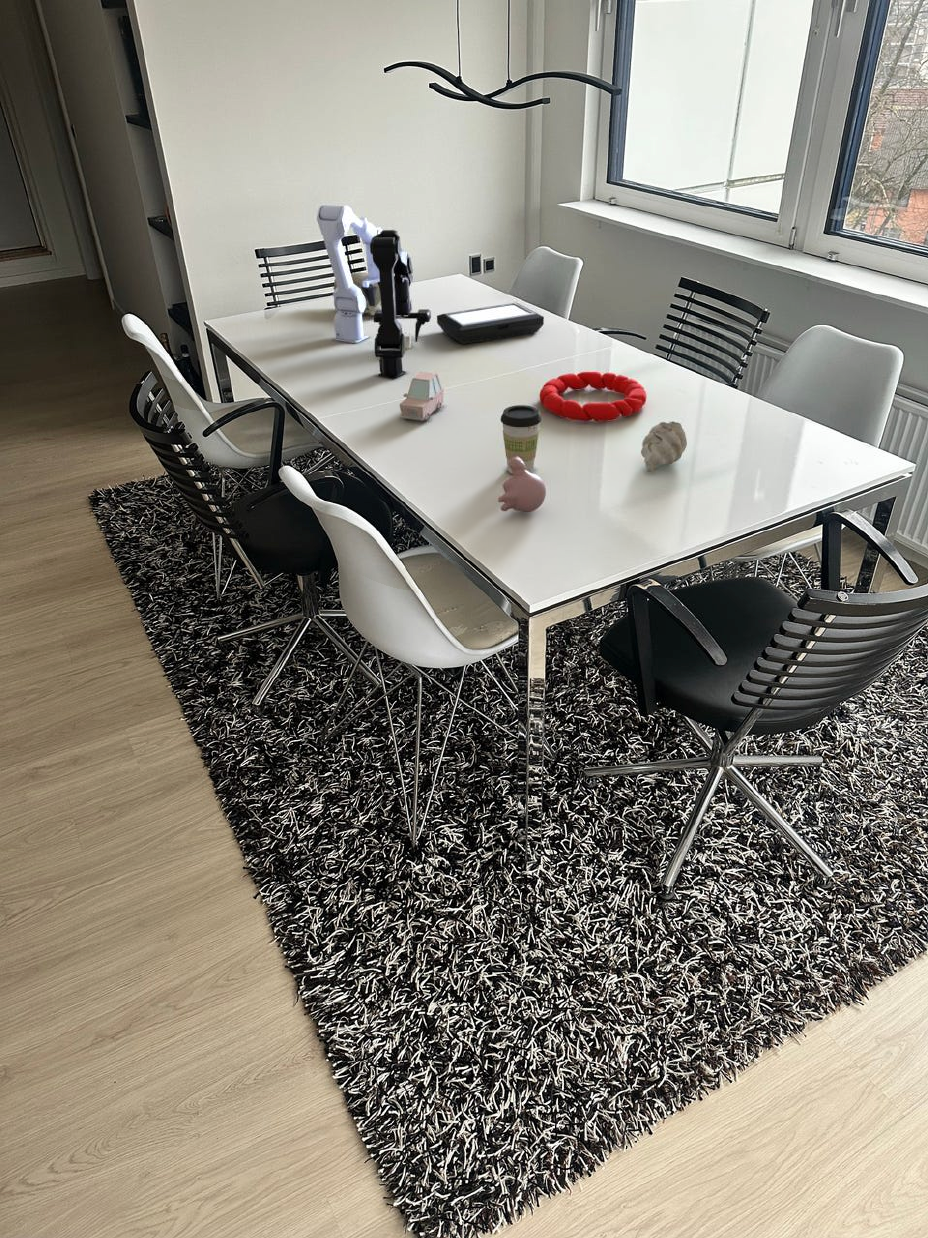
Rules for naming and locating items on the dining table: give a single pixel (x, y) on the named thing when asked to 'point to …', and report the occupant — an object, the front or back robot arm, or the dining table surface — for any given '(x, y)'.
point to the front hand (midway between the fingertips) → (403, 341)
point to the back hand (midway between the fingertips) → (378, 303)
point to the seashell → (663, 445)
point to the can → (407, 340)
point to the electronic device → (490, 322)
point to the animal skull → (357, 281)
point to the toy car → (422, 397)
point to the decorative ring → (593, 410)
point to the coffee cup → (521, 433)
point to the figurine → (522, 489)
